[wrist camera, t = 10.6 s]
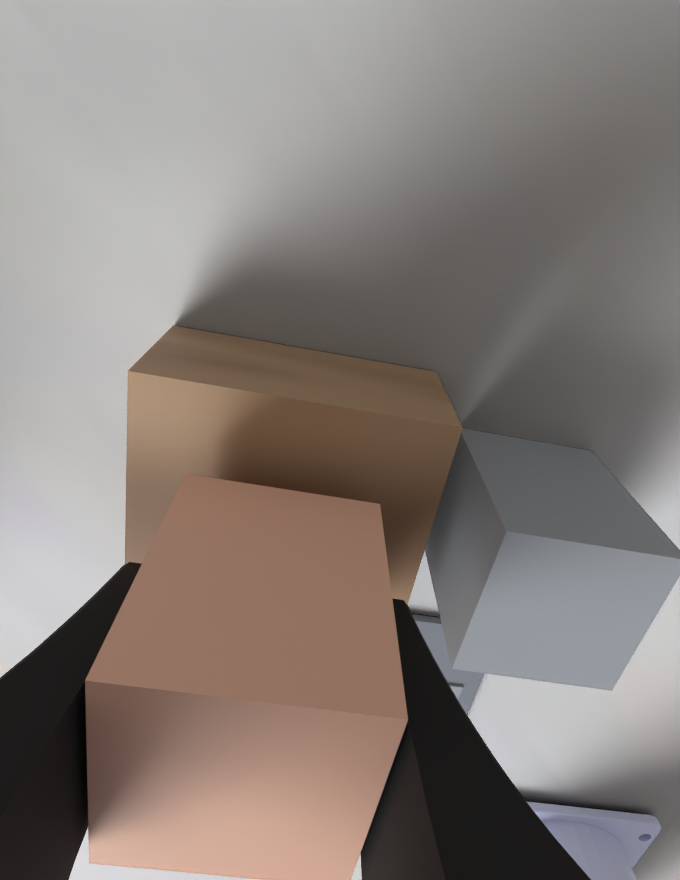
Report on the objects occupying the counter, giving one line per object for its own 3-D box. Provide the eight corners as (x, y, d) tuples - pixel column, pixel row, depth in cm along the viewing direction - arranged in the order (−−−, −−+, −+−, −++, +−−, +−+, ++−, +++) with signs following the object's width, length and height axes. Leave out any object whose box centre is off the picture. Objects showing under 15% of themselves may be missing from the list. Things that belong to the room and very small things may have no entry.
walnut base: (380, 573, 18) (390, 660, 15) (162, 542, 17) (123, 625, 14) (436, 371, 15) (462, 427, 12) (173, 325, 14) (127, 371, 11)
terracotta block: (344, 643, 13) (348, 887, 9) (174, 620, 13) (89, 863, 8) (380, 503, 12) (407, 720, 7) (185, 473, 11) (85, 679, 7)
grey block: (543, 558, 18) (611, 690, 13) (422, 539, 18) (451, 668, 13) (591, 450, 16) (688, 560, 12) (458, 426, 16) (506, 530, 11)
